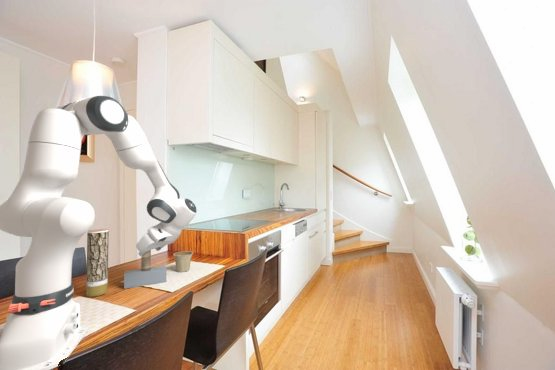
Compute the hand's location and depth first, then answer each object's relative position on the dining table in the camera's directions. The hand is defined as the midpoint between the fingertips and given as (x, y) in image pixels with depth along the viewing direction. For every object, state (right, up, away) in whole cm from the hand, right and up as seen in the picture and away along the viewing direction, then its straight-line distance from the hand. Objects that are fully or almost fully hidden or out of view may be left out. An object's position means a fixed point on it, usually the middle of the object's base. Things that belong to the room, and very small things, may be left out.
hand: (149, 252), depth 108 cm
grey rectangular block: (-2, -14, 0) cm, 14 cm away
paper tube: (-15, -14, -11) cm, 23 cm away
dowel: (-2, -8, 0) cm, 8 cm away
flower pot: (+8, -15, +18) cm, 24 cm away
